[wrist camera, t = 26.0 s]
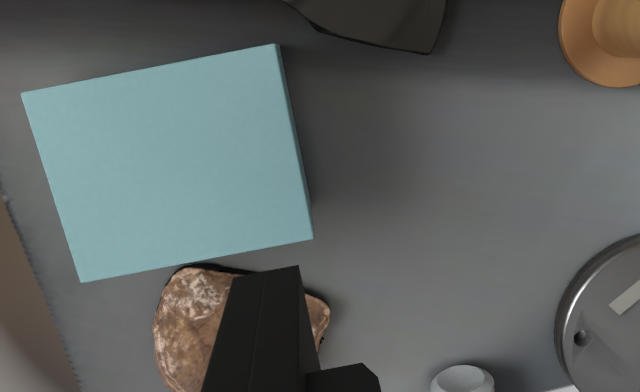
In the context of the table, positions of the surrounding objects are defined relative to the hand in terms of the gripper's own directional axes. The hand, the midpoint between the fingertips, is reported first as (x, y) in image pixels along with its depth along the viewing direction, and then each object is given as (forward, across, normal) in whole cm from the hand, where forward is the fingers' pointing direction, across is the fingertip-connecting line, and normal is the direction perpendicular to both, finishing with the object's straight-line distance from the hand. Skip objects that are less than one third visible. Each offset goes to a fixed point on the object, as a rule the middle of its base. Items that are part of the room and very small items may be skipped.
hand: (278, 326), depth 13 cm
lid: (+22, -7, +1) cm, 23 cm away
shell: (+29, -7, -14) cm, 33 cm away
